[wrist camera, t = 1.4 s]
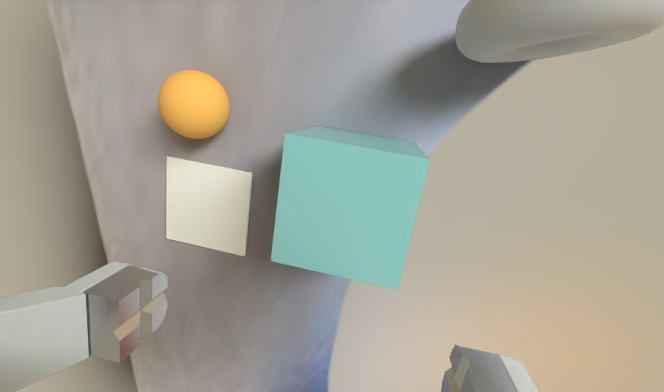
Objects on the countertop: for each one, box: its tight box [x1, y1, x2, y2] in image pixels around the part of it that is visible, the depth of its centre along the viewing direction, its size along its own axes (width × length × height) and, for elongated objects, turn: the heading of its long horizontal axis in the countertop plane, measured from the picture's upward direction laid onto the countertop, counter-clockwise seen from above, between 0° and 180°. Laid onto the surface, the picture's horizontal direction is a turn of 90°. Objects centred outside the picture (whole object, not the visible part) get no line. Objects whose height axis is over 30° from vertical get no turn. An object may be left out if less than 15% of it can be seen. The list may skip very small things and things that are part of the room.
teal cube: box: [271, 126, 430, 290], centre depth 22 cm, size 8×8×9 cm
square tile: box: [166, 156, 253, 256], centre depth 29 cm, size 8×8×1 cm
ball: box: [158, 70, 230, 139], centre depth 24 cm, size 5×5×5 cm
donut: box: [455, 0, 664, 63], centre depth 17 cm, size 10×3×10 cm, turn 95°
